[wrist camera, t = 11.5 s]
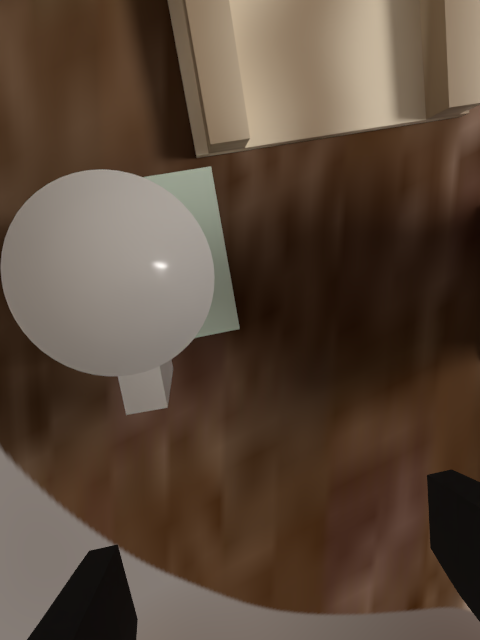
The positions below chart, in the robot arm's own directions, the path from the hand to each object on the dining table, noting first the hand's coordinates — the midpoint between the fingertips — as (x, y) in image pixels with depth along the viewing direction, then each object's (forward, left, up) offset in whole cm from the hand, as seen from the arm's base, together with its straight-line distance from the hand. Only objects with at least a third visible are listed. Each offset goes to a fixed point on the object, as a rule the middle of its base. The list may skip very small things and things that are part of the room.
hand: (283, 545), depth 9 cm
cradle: (-6, -15, -10) cm, 19 cm away
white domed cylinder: (+3, -6, -9) cm, 12 cm away
